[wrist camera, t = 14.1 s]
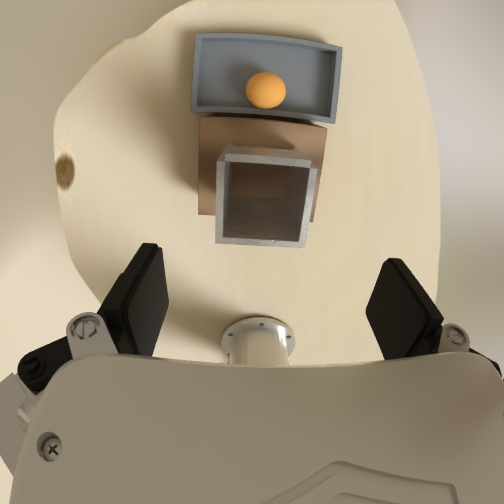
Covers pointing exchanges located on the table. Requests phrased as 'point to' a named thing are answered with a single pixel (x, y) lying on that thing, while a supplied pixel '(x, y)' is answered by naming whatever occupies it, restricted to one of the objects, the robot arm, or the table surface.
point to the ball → (265, 90)
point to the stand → (254, 174)
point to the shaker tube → (265, 200)
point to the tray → (266, 60)
